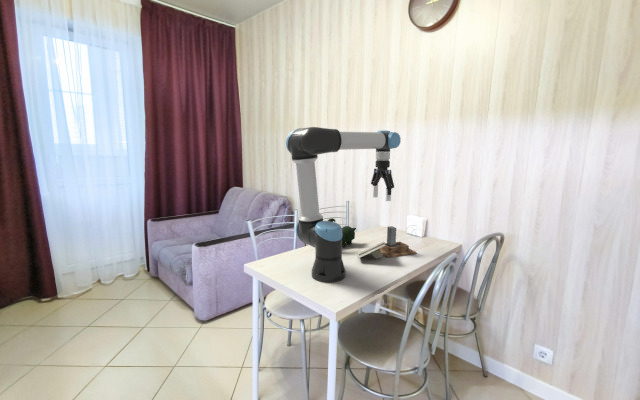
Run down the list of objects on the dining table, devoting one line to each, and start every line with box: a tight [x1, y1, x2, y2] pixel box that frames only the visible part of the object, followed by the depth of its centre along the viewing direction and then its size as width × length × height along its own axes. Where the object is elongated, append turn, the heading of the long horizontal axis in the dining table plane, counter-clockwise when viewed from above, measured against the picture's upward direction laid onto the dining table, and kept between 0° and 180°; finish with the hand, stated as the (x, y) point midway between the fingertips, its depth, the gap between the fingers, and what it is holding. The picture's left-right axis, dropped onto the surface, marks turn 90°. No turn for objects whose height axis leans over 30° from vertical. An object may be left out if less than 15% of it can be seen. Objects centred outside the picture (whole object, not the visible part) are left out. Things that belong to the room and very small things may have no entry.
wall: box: [357, 241, 386, 260], centre depth 153 cm, size 16×9×15 cm
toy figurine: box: [327, 217, 357, 247], centre depth 173 cm, size 9×19×25 cm
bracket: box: [386, 225, 401, 247], centre depth 163 cm, size 8×4×13 cm, turn 109°
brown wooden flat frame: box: [380, 241, 417, 259], centre depth 164 cm, size 18×14×4 cm
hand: (381, 199), depth 164 cm, fingers open, 13 cm apart
